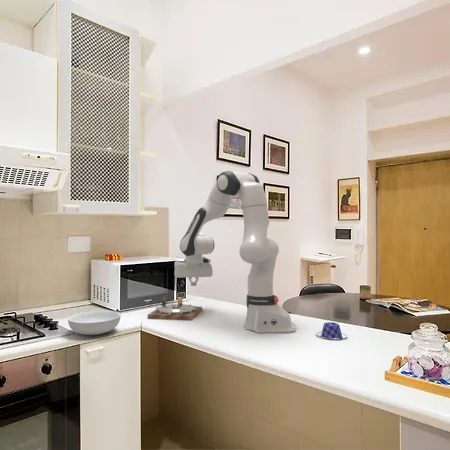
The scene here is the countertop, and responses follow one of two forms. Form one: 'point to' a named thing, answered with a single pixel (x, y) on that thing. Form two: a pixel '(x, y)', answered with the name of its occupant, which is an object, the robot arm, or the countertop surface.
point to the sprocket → (176, 308)
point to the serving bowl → (94, 322)
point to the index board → (174, 316)
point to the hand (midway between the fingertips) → (193, 285)
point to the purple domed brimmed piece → (331, 331)
